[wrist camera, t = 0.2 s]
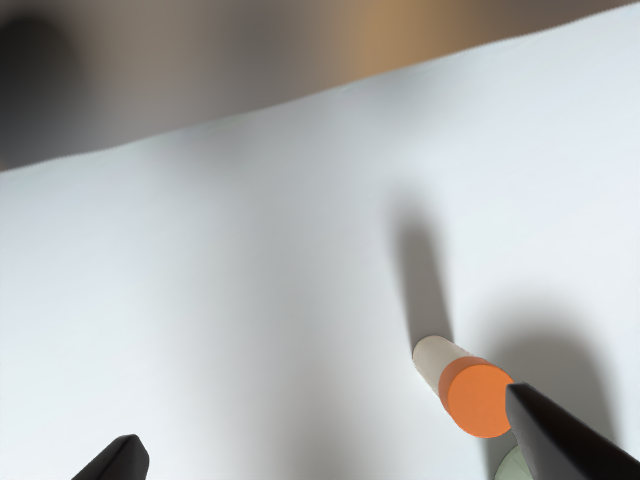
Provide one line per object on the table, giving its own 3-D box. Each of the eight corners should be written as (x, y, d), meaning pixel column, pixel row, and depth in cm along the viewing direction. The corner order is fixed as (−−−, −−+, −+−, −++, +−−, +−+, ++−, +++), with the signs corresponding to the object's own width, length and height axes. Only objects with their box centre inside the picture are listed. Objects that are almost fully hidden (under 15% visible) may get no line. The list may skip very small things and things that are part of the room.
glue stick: (468, 363, 22) (536, 411, 14) (430, 391, 22) (477, 453, 14) (439, 324, 23) (490, 349, 15) (401, 351, 23) (432, 390, 15)
